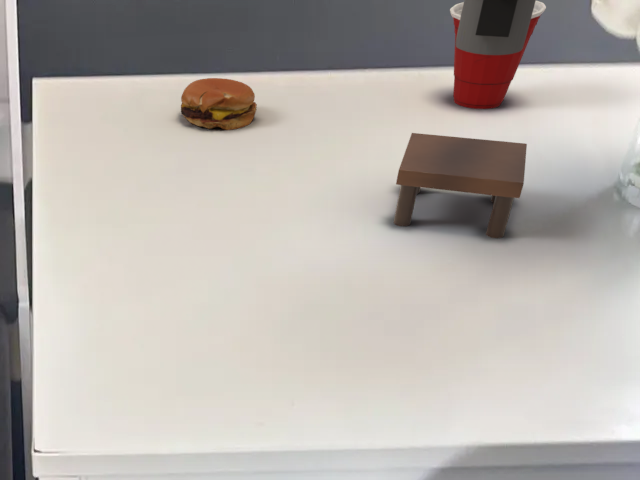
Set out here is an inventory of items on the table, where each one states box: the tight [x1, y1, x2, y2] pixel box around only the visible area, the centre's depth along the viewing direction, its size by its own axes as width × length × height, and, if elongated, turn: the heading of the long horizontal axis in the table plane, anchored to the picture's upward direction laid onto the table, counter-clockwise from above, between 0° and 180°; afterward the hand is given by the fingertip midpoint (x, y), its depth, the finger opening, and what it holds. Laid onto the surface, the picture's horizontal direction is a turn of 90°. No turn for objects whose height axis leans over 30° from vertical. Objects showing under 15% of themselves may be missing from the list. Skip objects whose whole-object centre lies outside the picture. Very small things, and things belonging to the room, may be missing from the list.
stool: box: [393, 132, 528, 239], centre depth 95 cm, size 11×11×6 cm
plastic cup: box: [449, 0, 547, 110], centre depth 120 cm, size 11×11×12 cm
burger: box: [180, 77, 258, 131], centre depth 121 cm, size 10×9×5 cm
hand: (494, 25), depth 86 cm, fingers closed on bottle, 6 cm apart
